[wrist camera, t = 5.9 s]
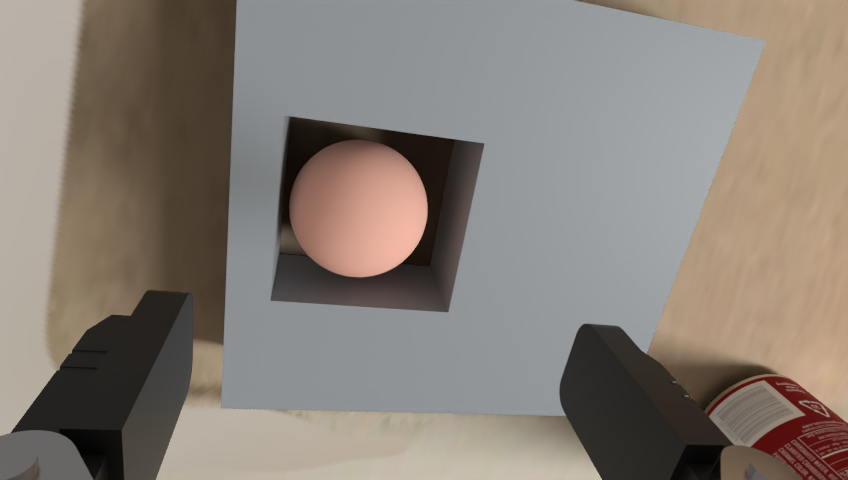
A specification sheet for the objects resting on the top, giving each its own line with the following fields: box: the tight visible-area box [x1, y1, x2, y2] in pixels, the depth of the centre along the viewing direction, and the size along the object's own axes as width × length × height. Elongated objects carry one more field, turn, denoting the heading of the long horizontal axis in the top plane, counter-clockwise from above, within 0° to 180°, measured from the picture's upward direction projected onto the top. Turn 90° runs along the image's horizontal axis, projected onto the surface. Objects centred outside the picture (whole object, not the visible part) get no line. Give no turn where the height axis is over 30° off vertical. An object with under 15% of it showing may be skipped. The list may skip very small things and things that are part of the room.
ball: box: [289, 140, 428, 277], centre depth 20 cm, size 5×5×5 cm
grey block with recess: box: [221, 0, 766, 416], centre depth 21 cm, size 16×17×4 cm
